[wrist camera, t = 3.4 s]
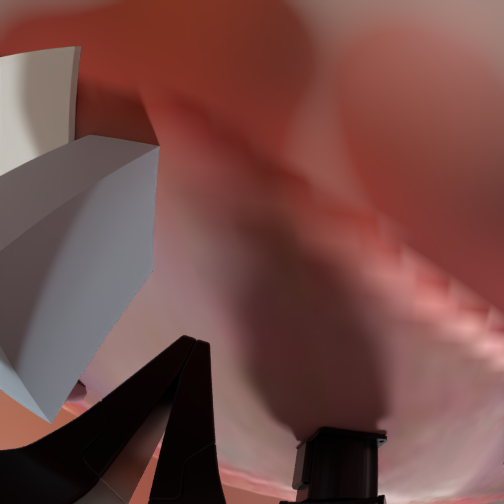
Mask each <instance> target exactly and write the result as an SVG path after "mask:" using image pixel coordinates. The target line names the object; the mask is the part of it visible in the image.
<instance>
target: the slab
mask: <svg viewBox="0 0 504 504" xmlns="http://www.w3.org/2000/svg"><path fill="white" fill-rule="evenodd" d="M159 150H160V146H158V145H152V144H147V143H141V142H135V141H129V140H123V139H117V138H111V137H104V136H97V135H87V136H85V137H82V138H80V139H77V140H75V141H72V142H70V143H67V144H65V145H63V146H61V147H58V148H56V149H54V150H51V151H49V152H47V153H45V154H43V155H41V156H38V157H36V158H34V159H32V160H30V161H28V162H26V163H24V164H22V165H20V166H18V167H16V168H14V169H12V170H10V171H9V172H7V173H5V174H3V175H1V176H0V389H1V390H2V391H4V392H5V393H6V394H8V395H9V396H10V397H12V398H13V399H14V400H16V401H17V402H19V403H20V404H22V405H23V406H24V407H26V408H27V409H29V410H30V411H32V412H33V413H35V414H36V415H38V416H39V417H41V418H42V419H44V420H46V421H47V422H49V423H51V424H52V422H53V420H54V419H55V417H56V415H57V414H58V412H59V410H60V409H61V407H62V405H63V404H64V402H65V400H66V399H67V397H68V396H69V394H70V392H71V391H72V389H73V387H74V386H75V384H76V383H77V381H78V379H79V378H80V376H81V375H82V373H83V372H84V370H85V369H86V367H87V365H88V364H89V362H90V361H91V359H92V358H93V356H94V355H95V353H96V352H97V350H98V349H99V347H100V346H101V344H102V343H103V341H104V340H105V338H106V337H107V335H108V334H109V332H110V331H111V329H112V328H113V326H114V325H115V324H116V322H117V321H118V319H119V318H120V316H121V315H122V313H123V312H124V311H125V309H126V308H127V306H128V305H129V303H130V302H131V301H132V299H133V298H134V296H135V295H136V294H137V292H138V291H139V290H140V288H141V287H142V285H143V284H144V283H145V281H146V280H147V279H148V277H149V276H150V274H151V273H152V272H153V236H154V214H155V198H156V184H157V171H158V160H159Z"/></svg>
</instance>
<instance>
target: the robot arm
mask: <svg viewBox="0 0 504 504" xmlns="http://www.w3.org/2000/svg"><path fill="white" fill-rule="evenodd" d="M165 429H166V430H165ZM164 431H165V434H164V438H163V442H162V446H161V450H160V454H159V458H158V463H157V467H156V471H155V475H154V479H153V484H152V488H151V492H150V497H149V499H150V500H149V502H148V504H226V501H225V497H224V493H223V489H222V485H221V480H220V475H219V469H218V461H217V452H216V444H215V443H216V440H215V427H214V412H213V395H212V377H211V356H210V344H209V343H208V342H205V341H202V340H196V339H195V338H193V337H189V336H186V335H183V336H181V337H180V338H179V339H177V340H176V341H175V342H174V343H172V344H171V345H170V346H169V347H167V348H166V349H165V350H164V351H162V352H161V353H160V354H159V355H157V356H156V357H155V358H154V359H152V360H151V361H150V362H149V363H147V364H146V365H145V366H144V367H142V368H141V369H140V370H139V371H137V372H136V373H135V374H134V375H132V376H131V377H130V378H129V379H127V380H126V381H125V382H123V383H122V384H121V385H120V386H118V387H117V388H116V389H115V390H113V391H112V392H111V393H109V394H108V395H107V396H106V397H104V398H103V399H102V402H101V401H99V402H98V403H96V404H95V405H94V406H93V407H91V408H90V409H89V410H87V411H86V412H84V413H83V414H82V415H80V416H79V417H77V418H76V419H74V420H73V421H71V422H69V423H68V424H66V425H64V426H62V427H61V428H59V429H57V430H55V431H54V432H52V433H50V434H48V435H46V436H45V437H43V438H41V439H39V440H37V441H36V442H33V443H31V444H29V445H27V446H24V447H21V448H16V449H7V450H0V504H128V503H129V501H130V499H131V497H132V495H133V493H134V491H135V489H136V487H137V485H138V483H139V481H140V479H141V477H142V475H143V473H144V471H145V469H146V467H147V465H148V463H149V461H150V459H151V457H152V455H153V453H154V451H155V449H156V447H157V445H158V443H159V441H160V439H161V437H162V435H163V433H164ZM385 442H387V436H385V435H375V434H365V433H356V432H349V431H341V430H334V429H328V428H321V429H319V430H318V431H317V432H316V433H315V434H314V435H313V436H312V437H311V438H310V439H309V440H308V441H307V442H305V443H304V445H303V446H302V447H301V448H300V449H299V450H298V451H297V456H296V463H295V470H294V477H293V483H292V488H293V489H295V490H297V496H296V502H288V501H280V503H279V504H387V503H386V499H385V495H379V496H378V448H379V447H380V446H382V445H383V444H384V443H385Z"/></svg>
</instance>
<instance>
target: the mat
mask: <svg viewBox="0 0 504 504" xmlns="http://www.w3.org/2000/svg"><path fill="white" fill-rule="evenodd" d="M81 48H82V46H72V47H61V48H52V49H45V50H38V51H31V52H26V53H19V54H14V55H9V56H4V57H0V176H1V175H3V174H5V173H7V172H9V171H10V170H12V169H14V168H16V167H18V166H20V165H22V164H24V163H26V162H28V161H30V160H32V159H34V158H36V157H38V156H41V155H43V154H45V153H47V152H49V151H51V150H54V149H56V148H58V147H61V146H63V145H65V144H67V143H70V142H72V141H75V111H76V95H77V83H78V72H79V63H80V55H81Z"/></svg>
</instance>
